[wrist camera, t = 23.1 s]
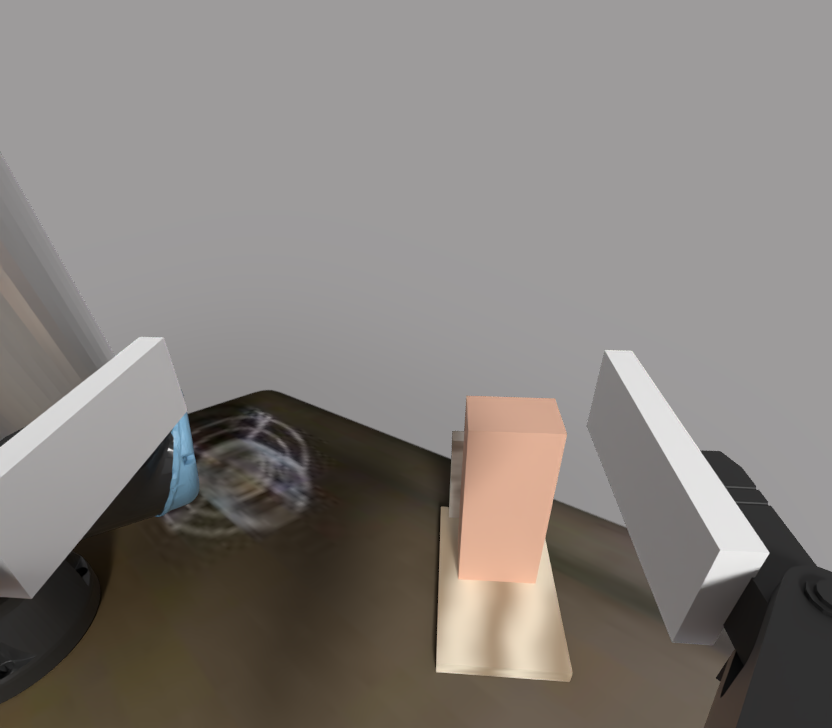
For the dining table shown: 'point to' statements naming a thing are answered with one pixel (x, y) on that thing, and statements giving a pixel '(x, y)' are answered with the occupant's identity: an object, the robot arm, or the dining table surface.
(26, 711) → the dining table surface
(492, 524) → the salmon pink rectangular block
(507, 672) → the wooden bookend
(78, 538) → the robot arm
